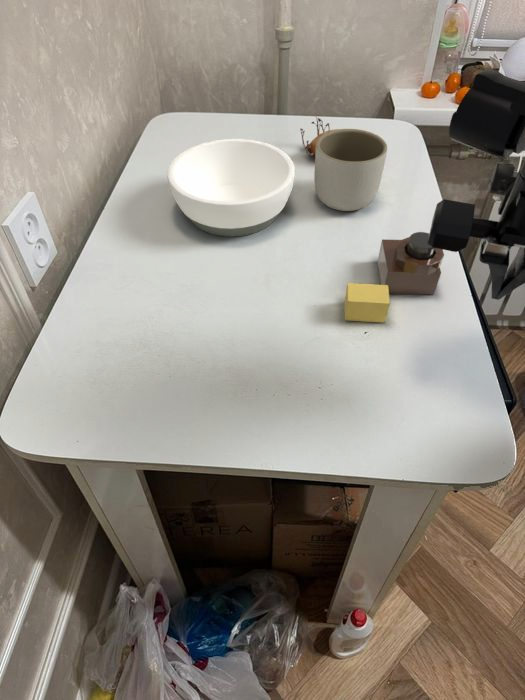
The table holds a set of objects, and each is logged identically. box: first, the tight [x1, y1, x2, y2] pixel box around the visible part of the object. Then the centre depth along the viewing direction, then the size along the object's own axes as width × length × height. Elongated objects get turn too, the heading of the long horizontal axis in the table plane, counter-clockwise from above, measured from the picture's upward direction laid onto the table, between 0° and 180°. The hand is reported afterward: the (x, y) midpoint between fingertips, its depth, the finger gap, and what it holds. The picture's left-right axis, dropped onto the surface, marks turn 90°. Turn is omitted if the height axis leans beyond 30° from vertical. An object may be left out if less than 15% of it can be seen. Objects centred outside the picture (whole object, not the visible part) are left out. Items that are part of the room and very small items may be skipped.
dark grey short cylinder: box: [406, 231, 435, 260], centre depth 75 cm, size 4×4×2 cm
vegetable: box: [299, 116, 339, 158], centre depth 104 cm, size 16×11×10 cm
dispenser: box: [377, 236, 445, 295], centre depth 79 cm, size 9×8×6 cm
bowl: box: [167, 138, 296, 238], centre depth 91 cm, size 22×22×8 cm
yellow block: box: [343, 282, 391, 324], centre depth 75 cm, size 6×4×4 cm, turn 85°
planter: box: [313, 128, 388, 212], centre depth 92 cm, size 12×12×11 cm
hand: (494, 296), depth 59 cm, fingers closed
